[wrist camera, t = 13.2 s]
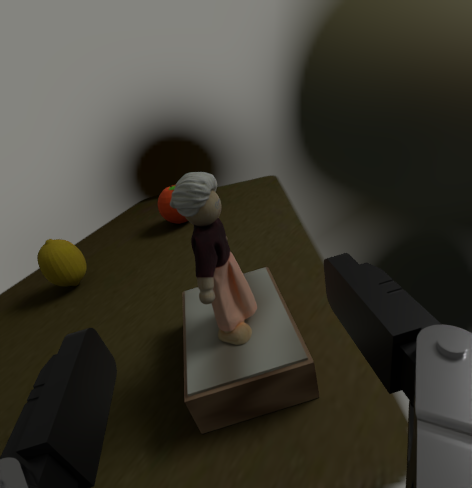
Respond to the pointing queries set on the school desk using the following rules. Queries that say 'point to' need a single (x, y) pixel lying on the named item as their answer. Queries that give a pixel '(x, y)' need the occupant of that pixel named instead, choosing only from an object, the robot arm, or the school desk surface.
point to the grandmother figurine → (215, 257)
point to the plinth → (244, 360)
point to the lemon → (61, 262)
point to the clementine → (169, 207)
